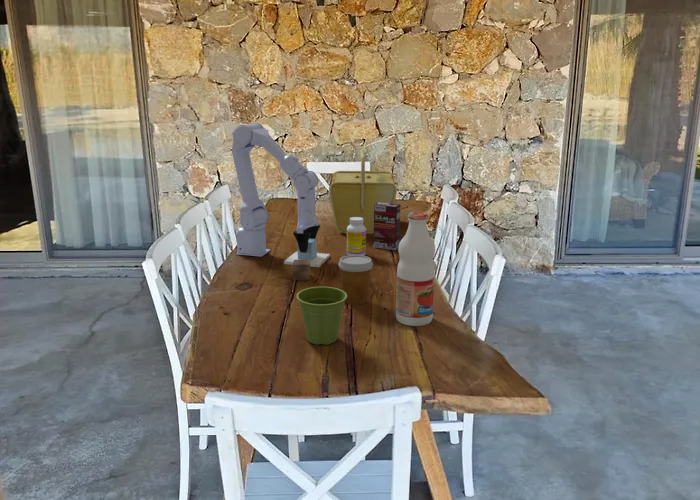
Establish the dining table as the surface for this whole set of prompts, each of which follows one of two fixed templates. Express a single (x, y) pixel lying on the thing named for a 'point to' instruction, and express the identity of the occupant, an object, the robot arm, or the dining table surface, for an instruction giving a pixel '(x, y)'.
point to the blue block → (309, 250)
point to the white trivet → (313, 263)
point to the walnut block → (301, 269)
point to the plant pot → (321, 313)
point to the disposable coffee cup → (355, 277)
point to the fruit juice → (415, 273)
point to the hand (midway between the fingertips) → (307, 249)
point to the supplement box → (386, 225)
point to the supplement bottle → (356, 237)
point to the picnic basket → (359, 195)
